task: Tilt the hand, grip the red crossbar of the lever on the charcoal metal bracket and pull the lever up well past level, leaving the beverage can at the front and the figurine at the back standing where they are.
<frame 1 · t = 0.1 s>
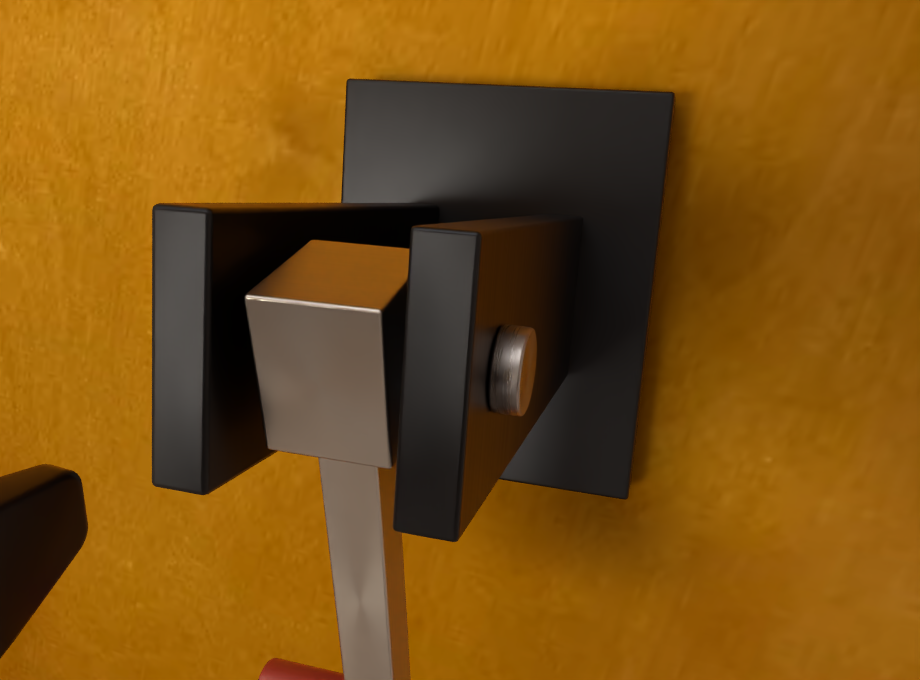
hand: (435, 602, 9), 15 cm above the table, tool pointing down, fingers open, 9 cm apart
bracket: (495, 284, 24), on the table
lever: (366, 540, 15), point 10 cm above the table, hinge at -18.0°
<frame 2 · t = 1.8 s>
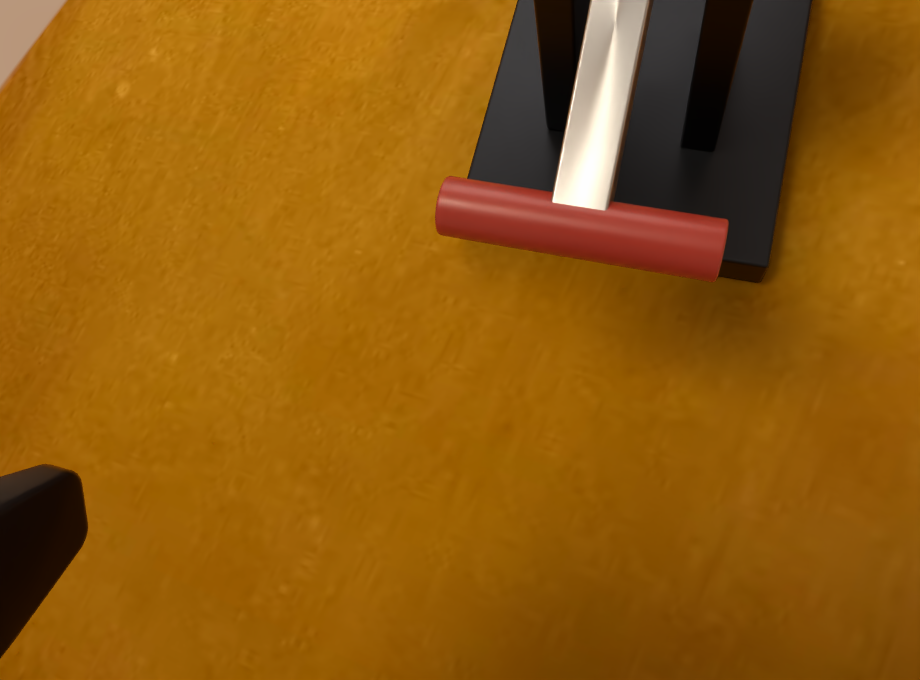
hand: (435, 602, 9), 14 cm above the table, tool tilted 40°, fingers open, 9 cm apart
bracket: (640, 101, 26), on the table
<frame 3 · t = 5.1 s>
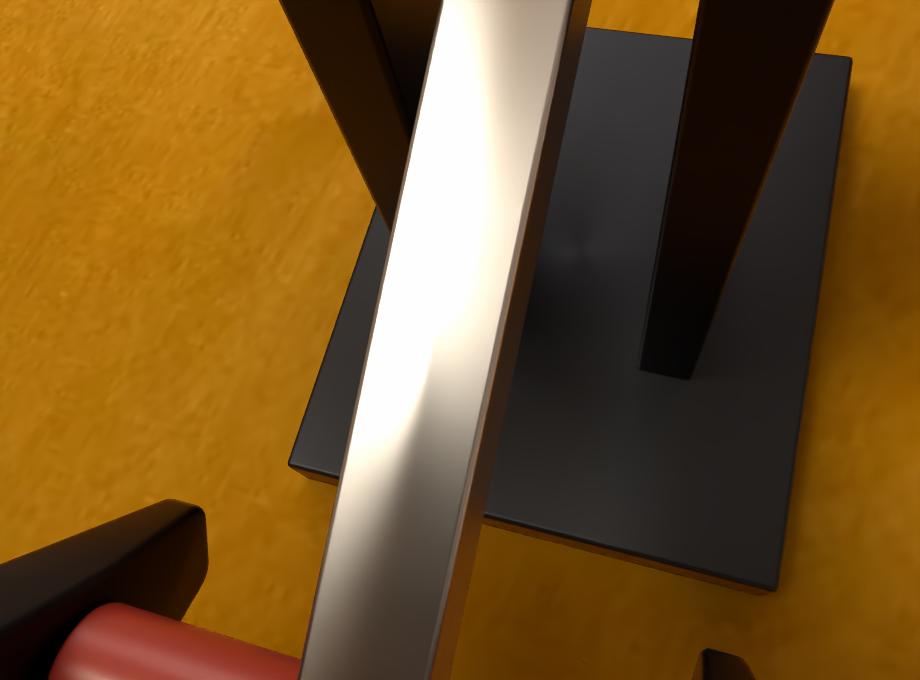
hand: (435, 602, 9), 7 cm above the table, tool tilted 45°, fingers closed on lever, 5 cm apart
bracket: (582, 277, 17), on the table
lever: (477, 201, 7), point 10 cm above the table, hinge at -18.0°, touching gripper
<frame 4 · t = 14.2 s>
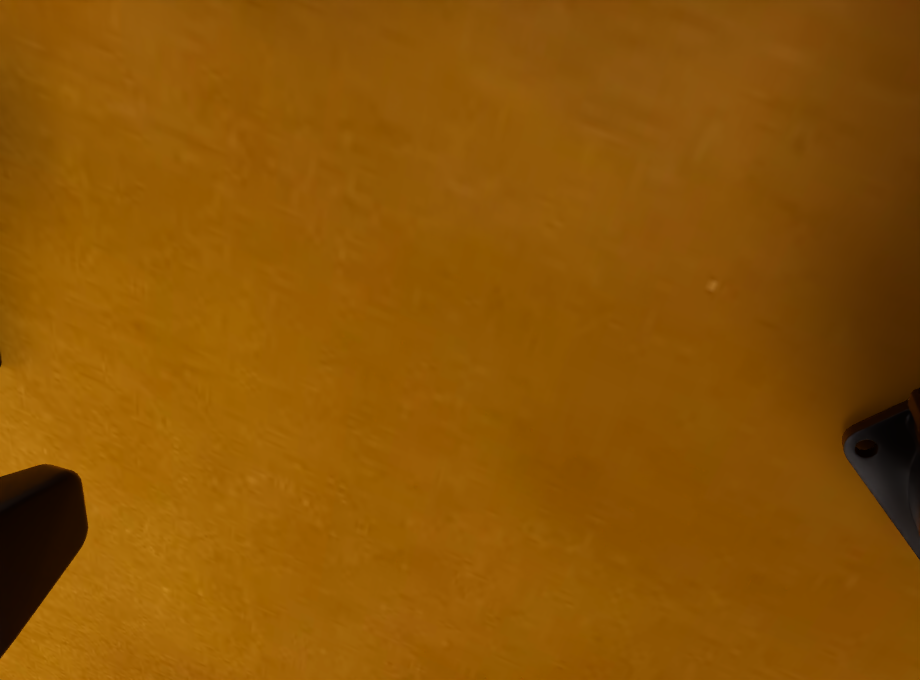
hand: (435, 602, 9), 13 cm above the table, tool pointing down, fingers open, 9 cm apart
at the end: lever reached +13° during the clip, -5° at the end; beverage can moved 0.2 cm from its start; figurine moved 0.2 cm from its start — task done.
